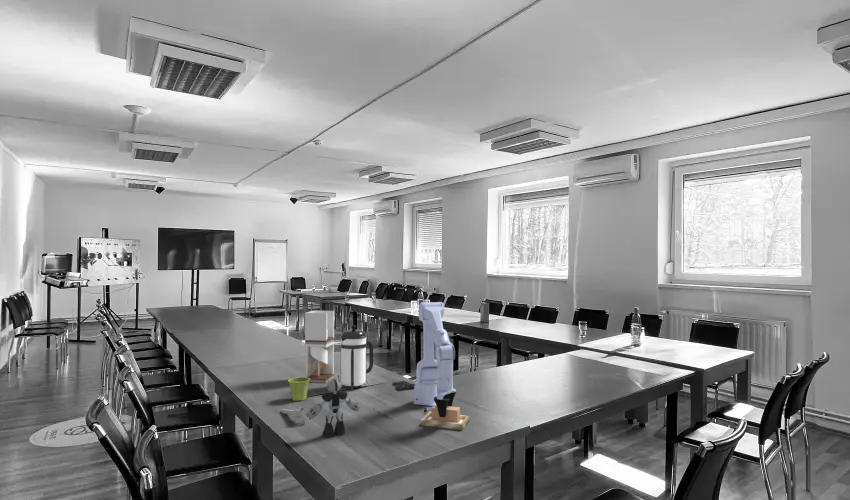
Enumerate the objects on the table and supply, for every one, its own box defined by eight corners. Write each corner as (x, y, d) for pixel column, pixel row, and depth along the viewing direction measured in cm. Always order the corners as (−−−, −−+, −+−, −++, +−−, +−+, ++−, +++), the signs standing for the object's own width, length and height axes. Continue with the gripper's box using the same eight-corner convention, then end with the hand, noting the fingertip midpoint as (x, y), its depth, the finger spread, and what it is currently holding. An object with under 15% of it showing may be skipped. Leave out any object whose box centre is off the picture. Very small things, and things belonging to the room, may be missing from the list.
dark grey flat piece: (452, 390, 224) (453, 383, 224) (407, 394, 212) (407, 386, 212) (432, 382, 241) (432, 375, 241) (388, 385, 229) (388, 378, 229)
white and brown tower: (304, 381, 235) (305, 312, 236) (313, 376, 245) (313, 310, 246) (326, 382, 233) (326, 313, 234) (333, 377, 243) (334, 310, 244)
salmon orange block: (431, 421, 173) (431, 407, 173) (434, 418, 177) (434, 404, 177) (457, 424, 170) (457, 410, 170) (460, 420, 174) (460, 407, 174)
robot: (308, 441, 156) (308, 381, 156) (304, 437, 160) (304, 378, 160) (362, 431, 165) (362, 374, 166) (357, 426, 170) (357, 371, 170)
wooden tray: (420, 425, 171) (420, 419, 171) (429, 416, 181) (429, 411, 181) (462, 430, 166) (462, 424, 166) (469, 421, 175) (469, 415, 176)
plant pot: (283, 401, 202) (283, 381, 202) (297, 395, 211) (297, 376, 211) (301, 403, 198) (301, 383, 199) (314, 397, 207) (314, 378, 207)
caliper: (304, 425, 172) (304, 408, 172) (301, 426, 171) (302, 408, 172) (283, 411, 188) (283, 395, 188) (280, 412, 188) (280, 396, 188)
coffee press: (368, 390, 218) (368, 326, 219) (335, 390, 218) (335, 326, 219) (373, 381, 235) (373, 322, 236) (342, 381, 236) (342, 322, 236)
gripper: (450, 382, 166) (450, 421, 165) (460, 373, 179) (460, 409, 179) (431, 381, 168) (431, 418, 168) (443, 372, 182) (443, 407, 181)
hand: (445, 413), depth 173 cm, fingers open, 7 cm apart
